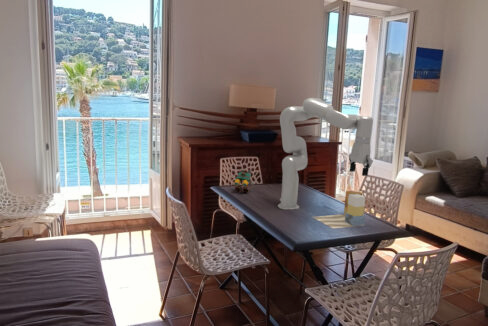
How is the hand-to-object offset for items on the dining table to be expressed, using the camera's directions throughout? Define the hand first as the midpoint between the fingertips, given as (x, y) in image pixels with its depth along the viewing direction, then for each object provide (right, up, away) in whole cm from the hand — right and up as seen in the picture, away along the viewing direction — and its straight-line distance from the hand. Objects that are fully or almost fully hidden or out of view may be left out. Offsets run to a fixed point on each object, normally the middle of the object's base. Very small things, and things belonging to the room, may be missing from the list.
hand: (358, 173), depth 200 cm
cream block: (0, -17, +2) cm, 17 cm away
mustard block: (-1, -22, +3) cm, 22 cm away
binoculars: (-60, -15, +62) cm, 88 cm away
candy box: (+2, -26, +18) cm, 32 cm away
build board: (-9, -27, +7) cm, 29 cm away
